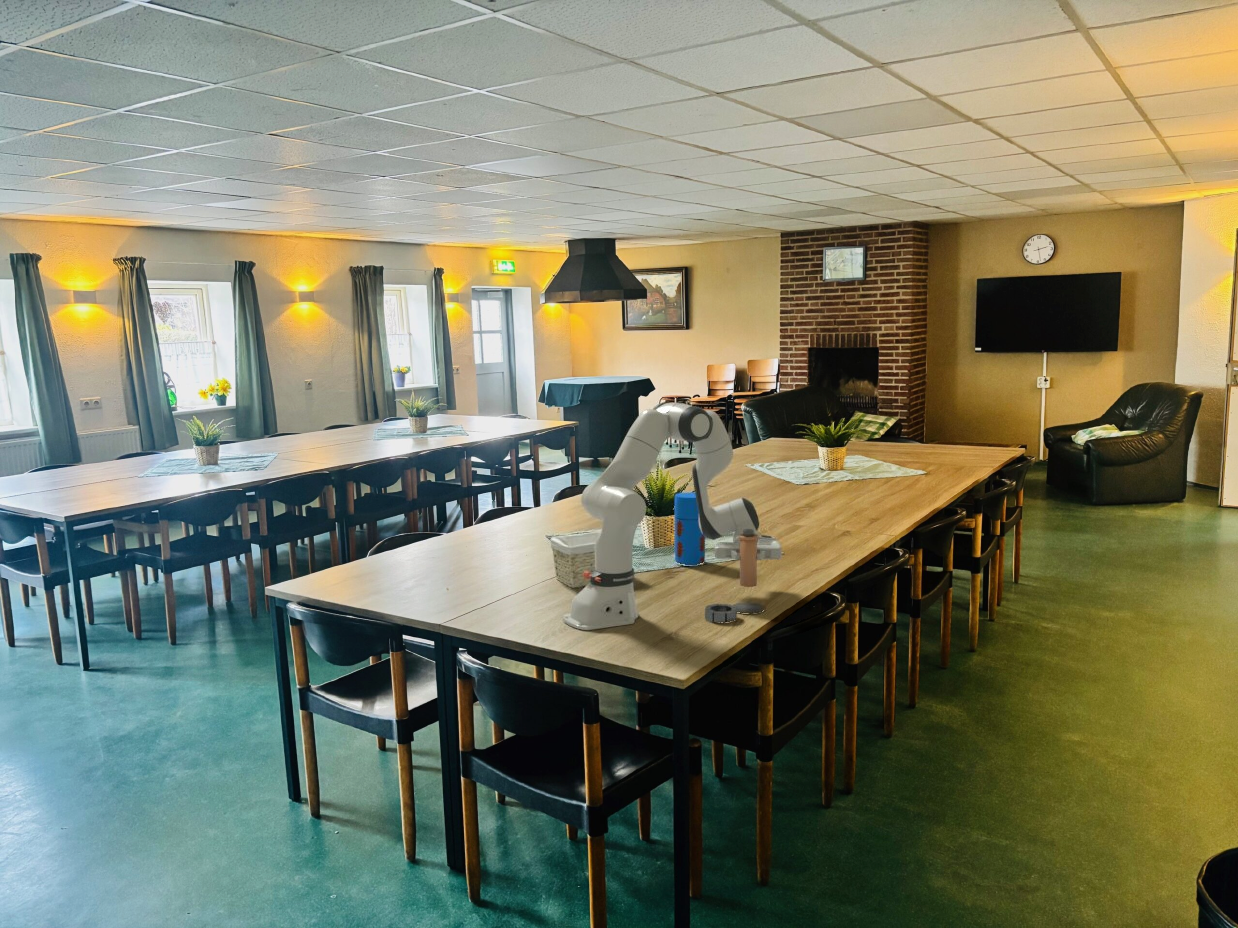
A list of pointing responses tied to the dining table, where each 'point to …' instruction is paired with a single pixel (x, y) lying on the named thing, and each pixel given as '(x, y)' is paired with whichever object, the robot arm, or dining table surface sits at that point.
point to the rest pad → (749, 607)
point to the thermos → (688, 531)
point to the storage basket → (574, 557)
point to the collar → (720, 613)
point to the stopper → (748, 558)
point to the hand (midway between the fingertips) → (748, 557)
